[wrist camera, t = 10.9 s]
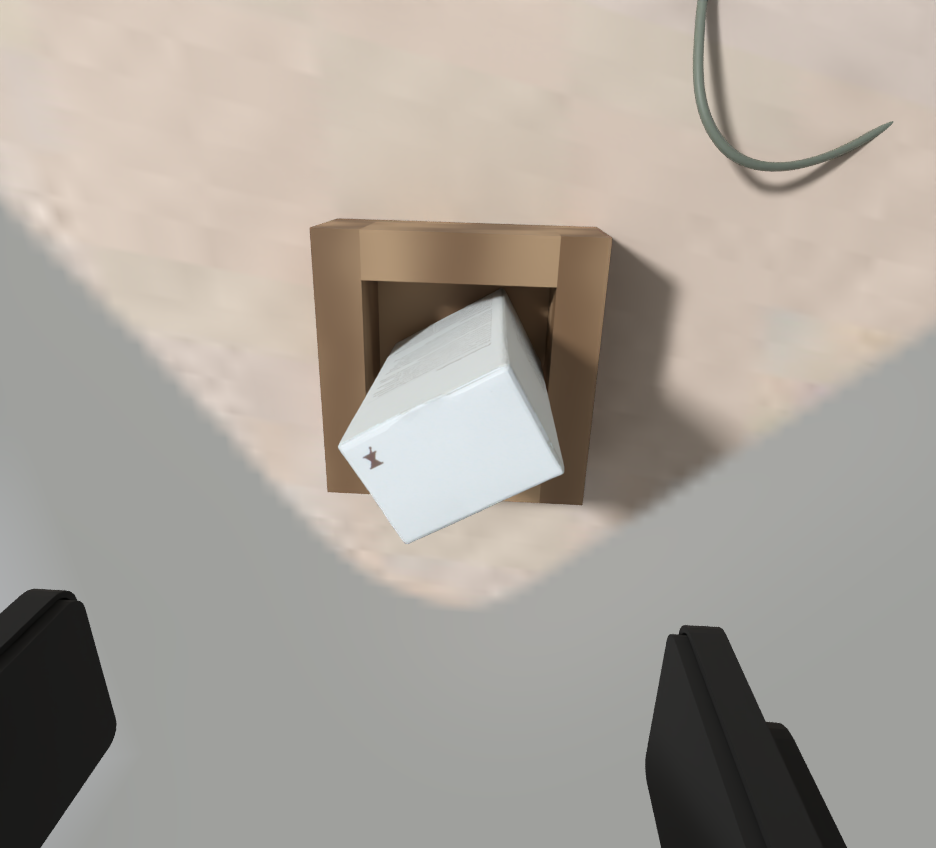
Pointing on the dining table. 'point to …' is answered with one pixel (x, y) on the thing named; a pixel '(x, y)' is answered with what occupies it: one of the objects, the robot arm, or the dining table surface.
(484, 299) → the skincare box
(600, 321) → the holder
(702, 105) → the loop
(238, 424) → the dining table surface
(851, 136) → the dining table surface
